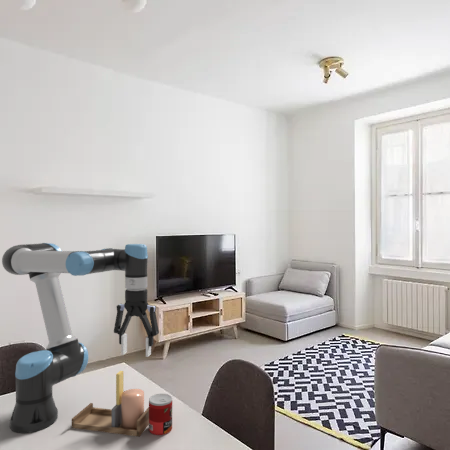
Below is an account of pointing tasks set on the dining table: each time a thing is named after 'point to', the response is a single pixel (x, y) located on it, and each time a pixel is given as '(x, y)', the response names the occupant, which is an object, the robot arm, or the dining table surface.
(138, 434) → the brown wooden tray
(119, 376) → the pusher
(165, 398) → the canned food
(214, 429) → the dining table surface
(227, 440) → the dining table surface
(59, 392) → the dining table surface
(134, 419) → the peach rounded capsule
